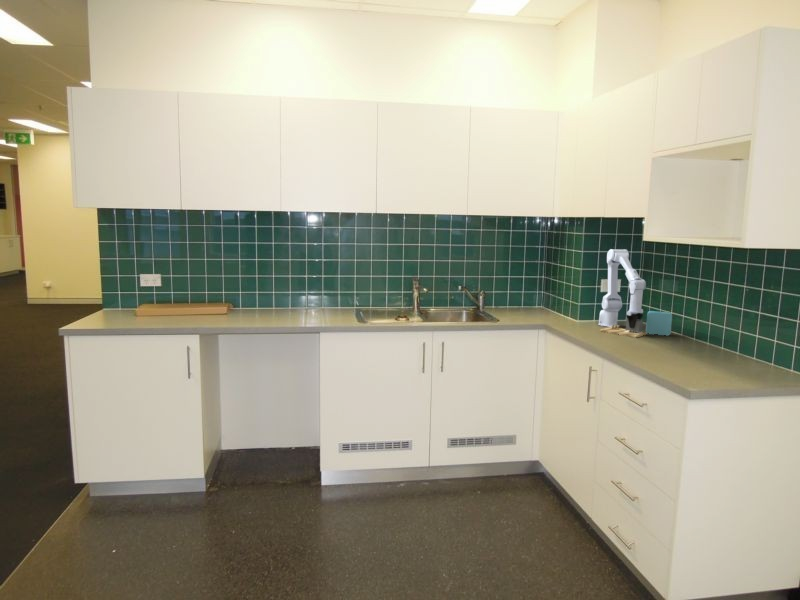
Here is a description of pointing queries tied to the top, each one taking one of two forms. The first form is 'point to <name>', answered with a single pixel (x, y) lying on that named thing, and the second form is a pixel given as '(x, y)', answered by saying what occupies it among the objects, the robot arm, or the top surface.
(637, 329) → the block
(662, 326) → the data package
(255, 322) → the top surface
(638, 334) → the board
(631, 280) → the robot arm
